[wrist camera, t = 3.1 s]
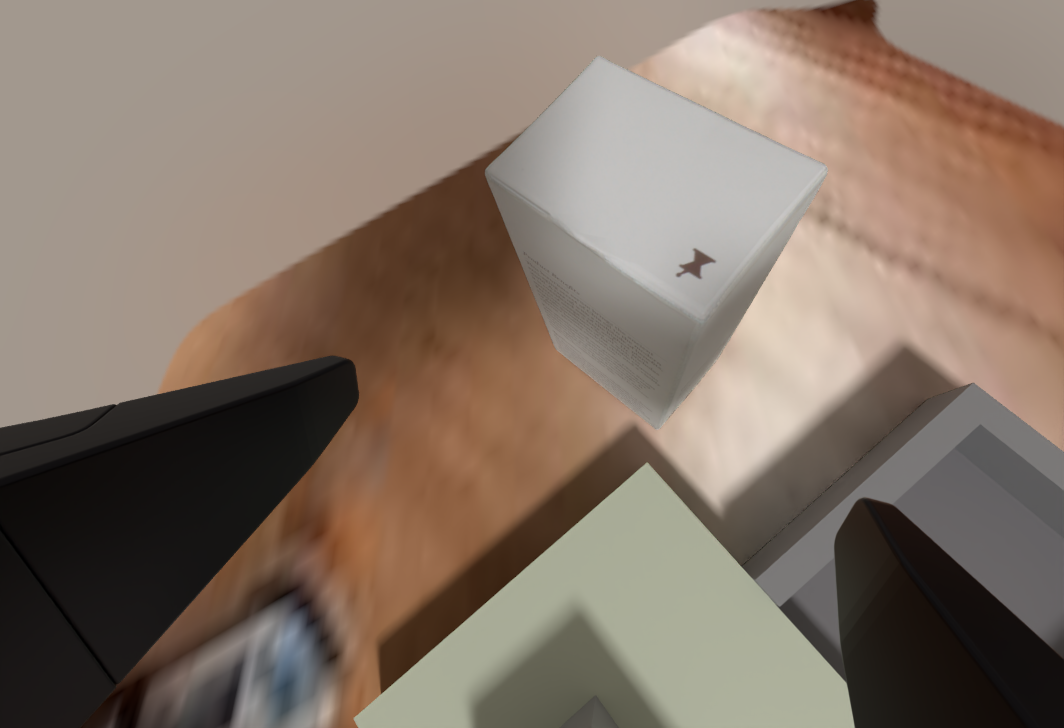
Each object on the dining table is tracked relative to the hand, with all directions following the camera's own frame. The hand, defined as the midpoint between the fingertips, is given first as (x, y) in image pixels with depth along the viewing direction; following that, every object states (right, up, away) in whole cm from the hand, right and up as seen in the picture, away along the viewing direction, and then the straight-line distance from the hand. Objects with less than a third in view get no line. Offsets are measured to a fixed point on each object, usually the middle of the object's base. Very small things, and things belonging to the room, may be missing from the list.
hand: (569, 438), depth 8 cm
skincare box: (+4, +2, +13) cm, 13 cm away
